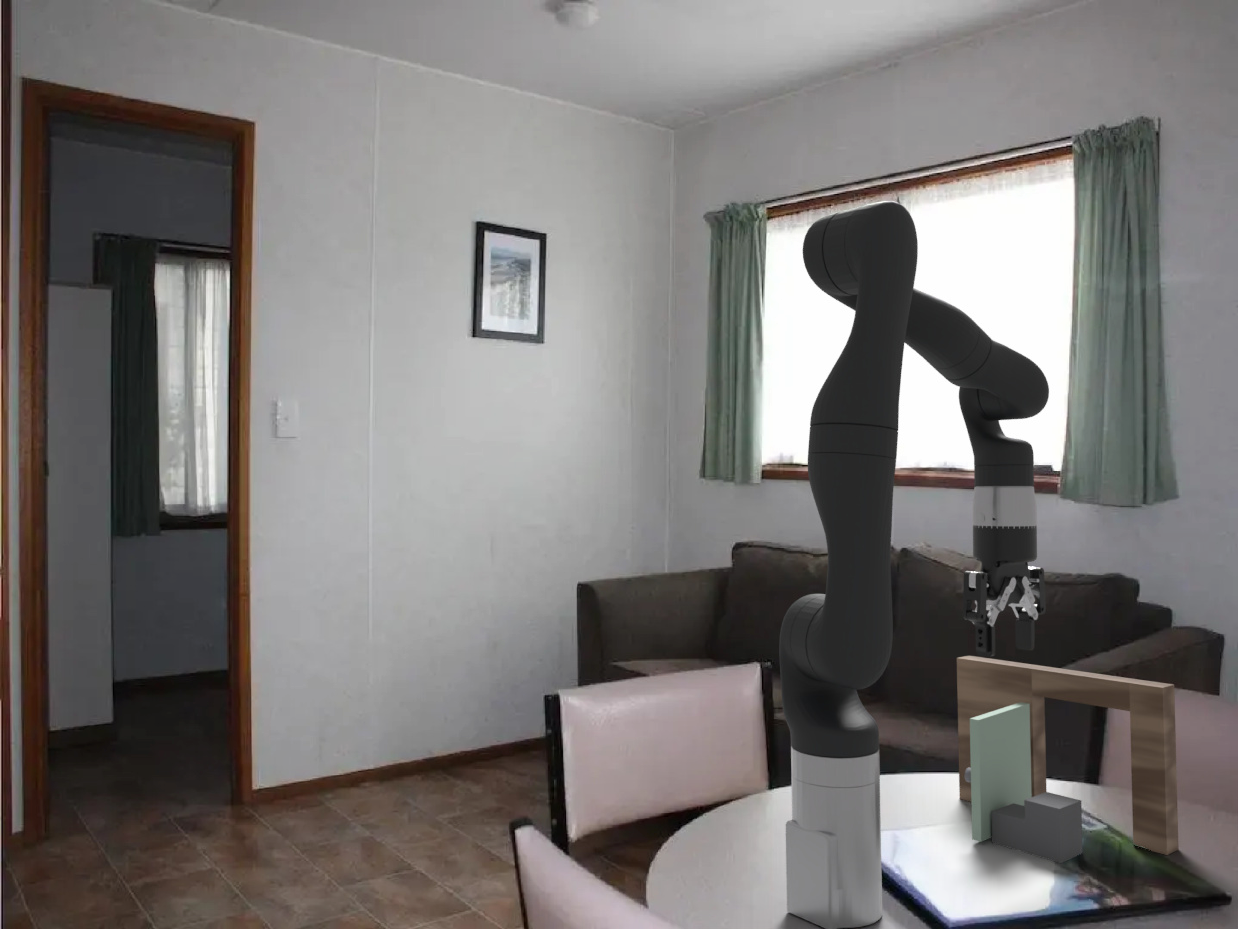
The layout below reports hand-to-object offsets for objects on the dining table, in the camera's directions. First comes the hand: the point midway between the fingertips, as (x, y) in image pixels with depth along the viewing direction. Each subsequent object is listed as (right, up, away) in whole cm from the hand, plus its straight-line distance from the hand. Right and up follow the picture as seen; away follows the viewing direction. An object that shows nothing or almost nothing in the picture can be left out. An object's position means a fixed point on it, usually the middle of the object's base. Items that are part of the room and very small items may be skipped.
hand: (1005, 652), depth 126 cm
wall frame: (+10, -24, +7) cm, 27 cm away
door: (+1, -23, +4) cm, 24 cm away
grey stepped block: (+3, -24, -2) cm, 24 cm away
